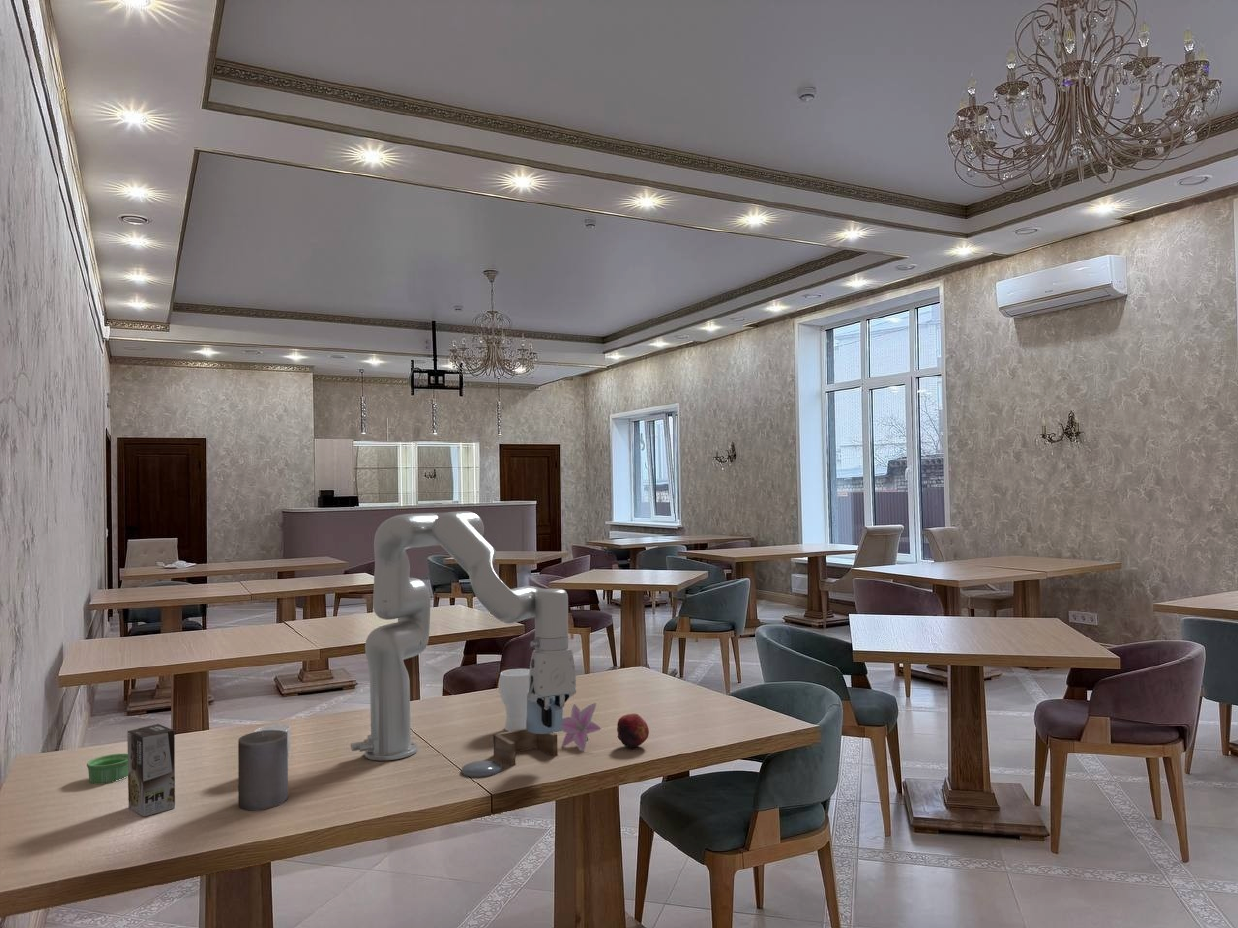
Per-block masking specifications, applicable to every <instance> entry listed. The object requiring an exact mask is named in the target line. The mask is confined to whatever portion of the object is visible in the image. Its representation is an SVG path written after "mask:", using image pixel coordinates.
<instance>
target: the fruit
mask: <svg viewBox="0 0 1238 928" xmlns="http://www.w3.org/2000/svg"><path fill="white" fill-rule="evenodd" d="M616 726H617V727H616V728H617V729H616V731H617V738H618V740H619V741H620V742H621V744H622V745H623V746H625V747H626V748H629V749H631V748H632V749H634V748H637V747H639V746H641V745H642V744H643V743H644V742H646V740H647V739H648V738H649V733H650V730H649V725H648V724H647V722H646V721H645V719H644V718H643V717H642V716H641V715H639V714H638V713H627V714H624V715H622V716H620V717H619V718H618V721H617V725H616Z"/></svg>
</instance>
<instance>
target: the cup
mask: <svg viewBox="0 0 1238 928" xmlns="http://www.w3.org/2000/svg"><path fill="white" fill-rule="evenodd" d="M529 673H530V668H511V669H505V670H503V671H501V672H500V676H499V679H498V693H499V695H500V696H499V697H500V699H501V701H502V703H503V704H504V707H505V714H506V716H505V717H506V718H505V723H504V724H505V725H504V730H505V731H506V732H508V731H513V730H518V729H523V728H526V716H527V694H528V693H529Z"/></svg>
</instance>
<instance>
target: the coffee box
mask: <svg viewBox="0 0 1238 928" xmlns="http://www.w3.org/2000/svg"><path fill="white" fill-rule="evenodd" d="M175 732H176V731H175V730H174V729H173V728H170V727H167V726H164V725H162V724H159V723H157V724H152V725H151V724H150V725H147V726H143V727H139V728H135V729H131V730H127V732H126V733H127V734H126V736H127V754H128V777H127V781H128V782H127V785H128V786H127V788H128V793H127V795H128V796H127V798H128V809H130V808H131V809H130V810H132V811H134V812H135V813H137V814H139V815H140V816H142V817H145V818H146V817H147V816H152V815H156V814H158V813H163V812H167V811H170V810H174V809H175V808H176V779H175V778H176V773H175V772H176V770H175V769H176V768H175V767H176V766H175V763H176V762H175V757H176V756H175V754H176V753H175V752H176V751H175V750H176V749H175V741H176V740H175V737H176V736H175Z"/></svg>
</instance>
